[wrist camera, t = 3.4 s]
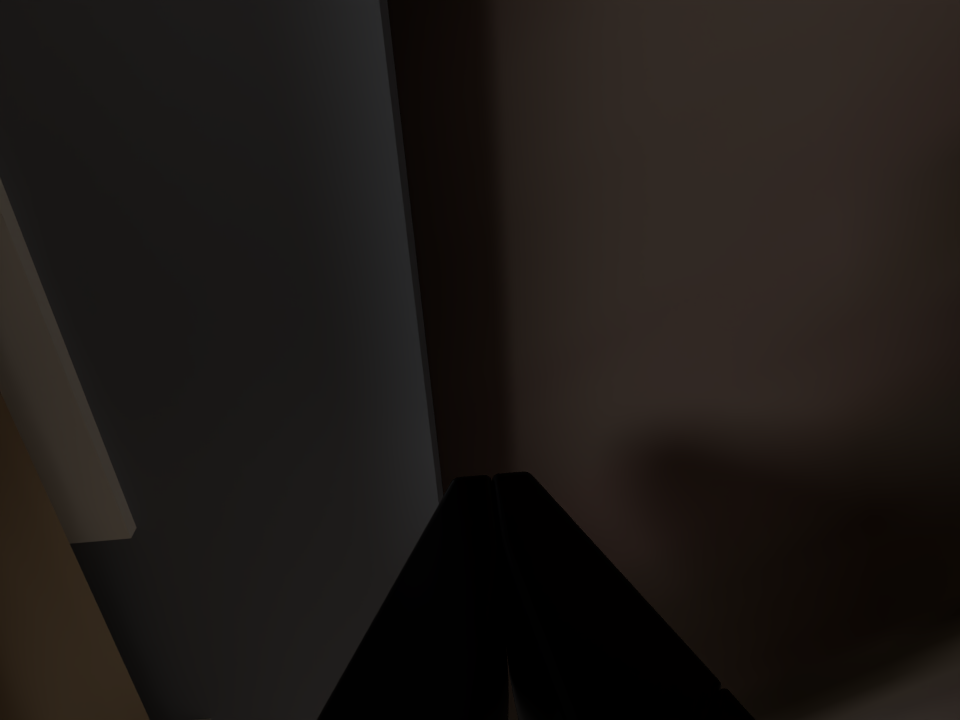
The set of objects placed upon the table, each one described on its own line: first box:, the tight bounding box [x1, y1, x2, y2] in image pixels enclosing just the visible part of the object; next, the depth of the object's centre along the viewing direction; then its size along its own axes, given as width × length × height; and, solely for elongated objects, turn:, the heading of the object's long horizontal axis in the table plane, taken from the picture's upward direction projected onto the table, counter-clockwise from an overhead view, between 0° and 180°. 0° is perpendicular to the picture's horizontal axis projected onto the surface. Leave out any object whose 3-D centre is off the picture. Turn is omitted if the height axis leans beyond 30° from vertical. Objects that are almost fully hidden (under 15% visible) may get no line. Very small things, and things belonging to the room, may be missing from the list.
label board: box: [0, 0, 443, 720], centre depth 11 cm, size 19×12×1 cm, turn 4°
